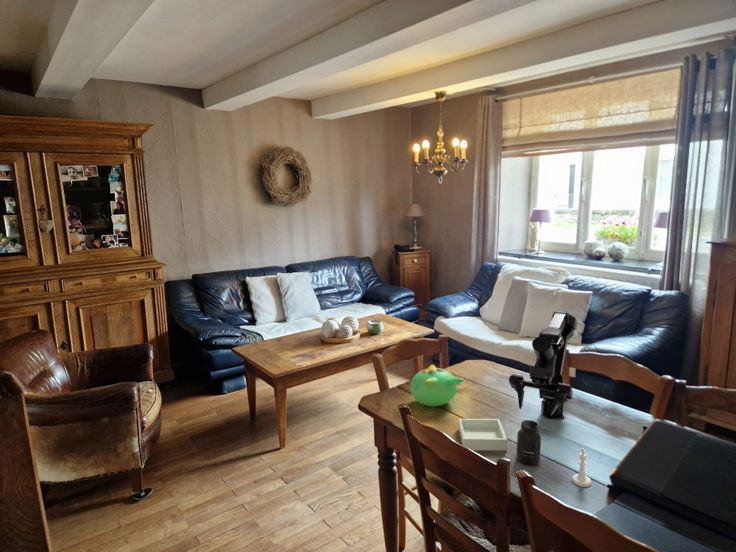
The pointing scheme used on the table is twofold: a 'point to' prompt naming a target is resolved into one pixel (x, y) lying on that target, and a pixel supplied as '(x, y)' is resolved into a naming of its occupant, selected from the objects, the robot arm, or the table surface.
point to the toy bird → (434, 386)
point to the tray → (482, 434)
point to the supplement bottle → (528, 443)
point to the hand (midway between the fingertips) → (535, 411)
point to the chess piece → (582, 472)
